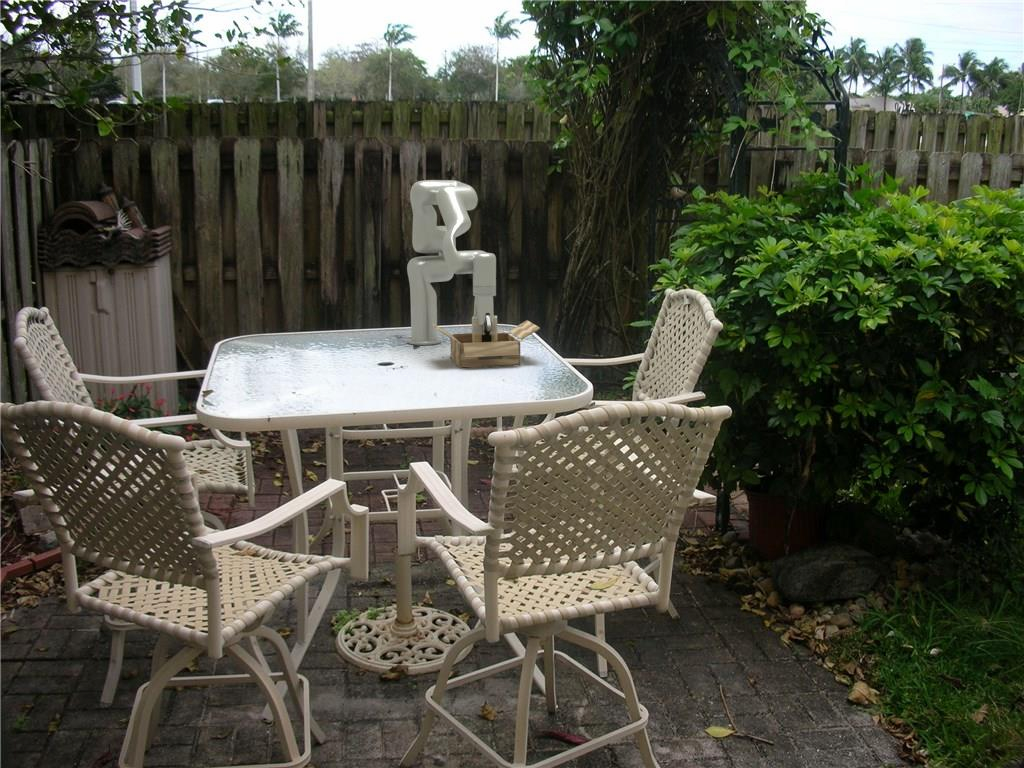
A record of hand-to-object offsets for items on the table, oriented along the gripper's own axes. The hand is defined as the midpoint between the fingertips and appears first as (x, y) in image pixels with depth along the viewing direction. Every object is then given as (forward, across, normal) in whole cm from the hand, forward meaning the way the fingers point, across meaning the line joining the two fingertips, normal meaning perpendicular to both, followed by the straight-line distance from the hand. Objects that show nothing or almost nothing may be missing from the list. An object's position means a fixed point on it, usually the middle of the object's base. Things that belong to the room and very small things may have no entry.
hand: (484, 344), depth 321 cm
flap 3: (-3, +9, 0) cm, 9 cm away
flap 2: (-2, -9, 0) cm, 9 cm away
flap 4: (-3, 0, +10) cm, 11 cm away
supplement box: (+4, 0, 0) cm, 4 cm away
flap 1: (-3, 0, -10) cm, 11 cm away
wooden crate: (+6, 0, 0) cm, 6 cm away
